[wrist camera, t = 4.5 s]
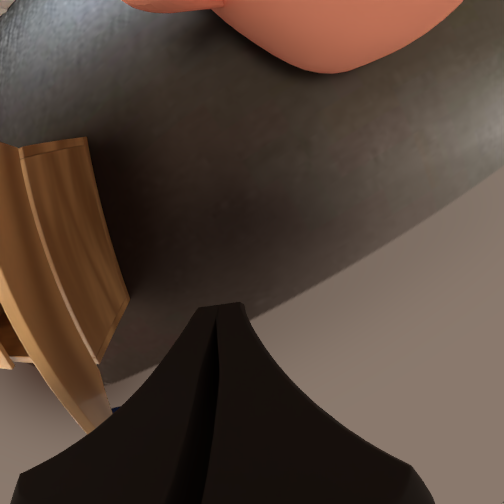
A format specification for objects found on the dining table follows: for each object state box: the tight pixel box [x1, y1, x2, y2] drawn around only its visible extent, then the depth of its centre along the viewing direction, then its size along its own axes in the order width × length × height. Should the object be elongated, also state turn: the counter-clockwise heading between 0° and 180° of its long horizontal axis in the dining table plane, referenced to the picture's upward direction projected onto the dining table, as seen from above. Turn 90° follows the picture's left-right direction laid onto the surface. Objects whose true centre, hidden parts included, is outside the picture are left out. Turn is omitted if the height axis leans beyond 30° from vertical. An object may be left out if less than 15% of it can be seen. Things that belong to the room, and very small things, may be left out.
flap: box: [0, 142, 113, 435], centre depth 8 cm, size 6×11×1 cm
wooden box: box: [0, 137, 130, 369], centre depth 13 cm, size 13×11×7 cm
